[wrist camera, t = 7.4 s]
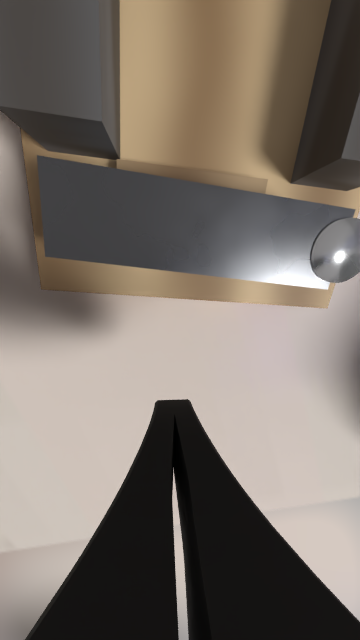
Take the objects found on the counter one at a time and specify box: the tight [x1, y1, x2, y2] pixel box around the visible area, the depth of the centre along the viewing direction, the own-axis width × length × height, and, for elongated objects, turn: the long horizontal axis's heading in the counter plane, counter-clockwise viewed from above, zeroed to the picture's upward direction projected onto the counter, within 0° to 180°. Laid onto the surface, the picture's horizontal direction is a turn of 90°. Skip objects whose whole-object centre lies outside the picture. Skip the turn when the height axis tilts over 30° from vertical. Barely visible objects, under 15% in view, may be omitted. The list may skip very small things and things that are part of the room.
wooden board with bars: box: [0, 0, 360, 308], centre depth 8 cm, size 16×20×6 cm
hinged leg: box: [37, 155, 360, 290], centre depth 9 cm, size 12×3×3 cm, turn 83°
